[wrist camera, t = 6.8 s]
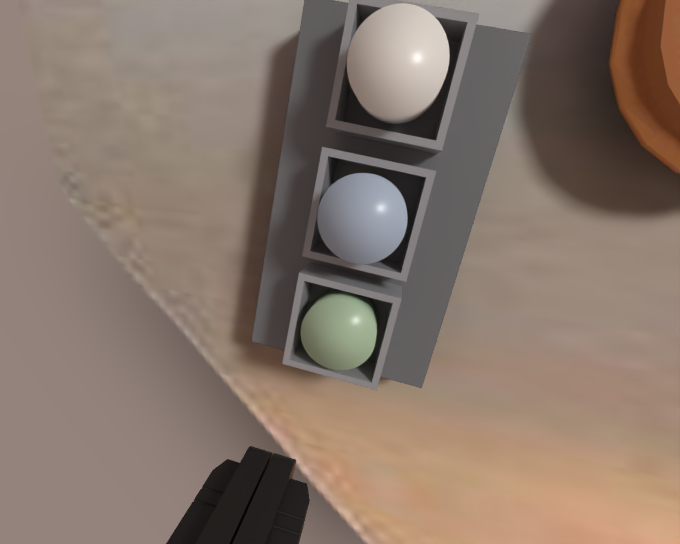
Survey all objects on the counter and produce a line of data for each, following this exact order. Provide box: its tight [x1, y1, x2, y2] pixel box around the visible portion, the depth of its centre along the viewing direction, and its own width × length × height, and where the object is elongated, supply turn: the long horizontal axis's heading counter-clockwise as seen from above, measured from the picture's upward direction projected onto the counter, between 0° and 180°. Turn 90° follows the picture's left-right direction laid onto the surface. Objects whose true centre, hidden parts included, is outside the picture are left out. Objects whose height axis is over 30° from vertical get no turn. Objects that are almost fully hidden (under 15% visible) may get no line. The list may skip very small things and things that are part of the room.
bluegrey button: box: [317, 173, 407, 264], centre depth 19 cm, size 4×4×2 cm
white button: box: [347, 3, 450, 124], centre depth 17 cm, size 4×4×2 cm
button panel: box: [252, 0, 532, 390], centre depth 22 cm, size 12×21×6 cm, turn 168°
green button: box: [301, 289, 378, 370], centre depth 22 cm, size 4×4×2 cm
